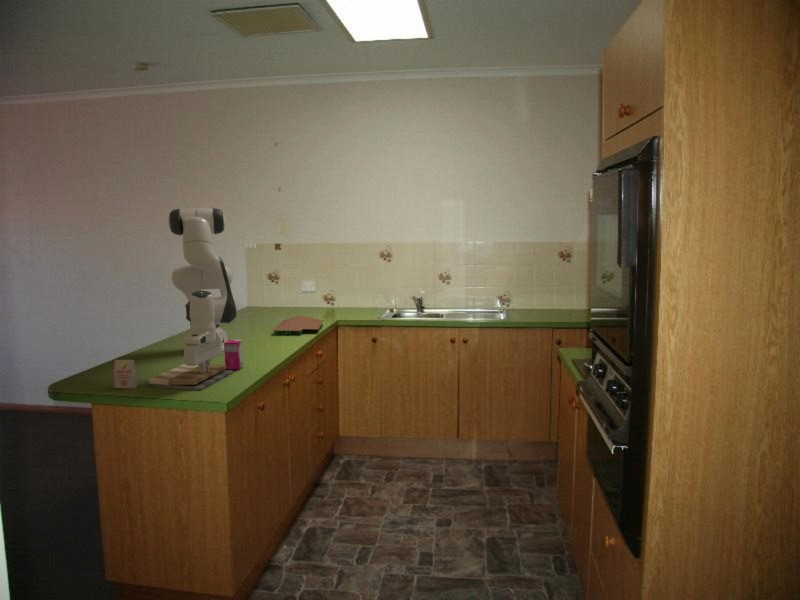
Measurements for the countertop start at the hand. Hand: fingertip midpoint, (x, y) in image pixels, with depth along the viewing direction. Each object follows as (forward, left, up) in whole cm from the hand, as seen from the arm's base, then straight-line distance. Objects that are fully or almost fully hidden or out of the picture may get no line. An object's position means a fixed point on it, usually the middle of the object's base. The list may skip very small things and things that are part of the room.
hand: (204, 372), depth 208 cm
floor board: (0, -6, -3) cm, 7 cm away
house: (-101, -3, -4) cm, 102 cm away
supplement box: (-18, +2, -4) cm, 19 cm away
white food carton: (+14, -23, -4) cm, 27 cm away
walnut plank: (0, -3, -2) cm, 3 cm away
